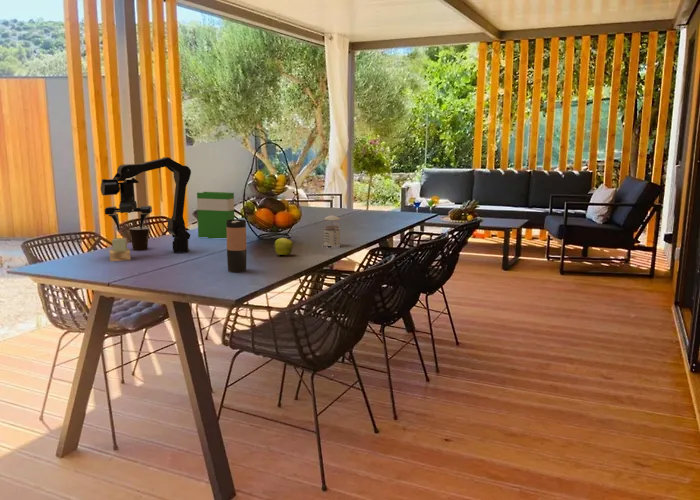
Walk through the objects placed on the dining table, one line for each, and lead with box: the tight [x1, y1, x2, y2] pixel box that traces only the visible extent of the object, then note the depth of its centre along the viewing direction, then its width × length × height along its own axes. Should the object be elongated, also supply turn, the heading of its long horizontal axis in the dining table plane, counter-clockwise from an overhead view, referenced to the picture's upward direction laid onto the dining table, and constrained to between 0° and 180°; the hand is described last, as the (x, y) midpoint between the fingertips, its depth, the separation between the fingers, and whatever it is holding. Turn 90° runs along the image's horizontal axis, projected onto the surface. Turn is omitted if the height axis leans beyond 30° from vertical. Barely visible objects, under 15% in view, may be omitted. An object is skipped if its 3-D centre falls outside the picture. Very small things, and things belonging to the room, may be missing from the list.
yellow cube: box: [111, 237, 128, 252], centre depth 256 cm, size 5×5×5 cm
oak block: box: [109, 248, 131, 262], centre depth 256 cm, size 8×8×4 cm
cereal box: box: [196, 191, 235, 239], centre depth 317 cm, size 18×7×24 cm, turn 75°
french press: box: [323, 195, 341, 246], centre depth 294 cm, size 10×12×25 cm
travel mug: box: [226, 218, 248, 273], centre depth 234 cm, size 8×8×20 cm
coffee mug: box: [129, 226, 150, 252], centre depth 281 cm, size 12×9×10 cm
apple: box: [273, 237, 294, 256], centre depth 269 cm, size 8×9×8 cm
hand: (130, 229), depth 260 cm, fingers open, 9 cm apart
